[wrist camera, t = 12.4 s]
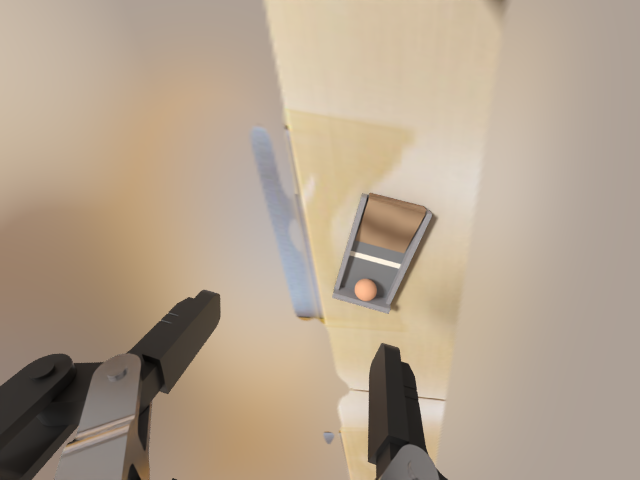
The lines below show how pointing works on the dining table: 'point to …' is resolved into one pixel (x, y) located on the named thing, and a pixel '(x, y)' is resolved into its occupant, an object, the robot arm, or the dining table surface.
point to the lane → (374, 265)
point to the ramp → (389, 222)
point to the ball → (365, 289)
